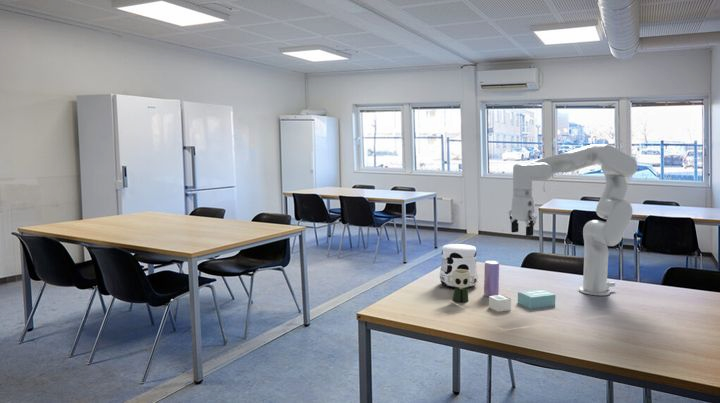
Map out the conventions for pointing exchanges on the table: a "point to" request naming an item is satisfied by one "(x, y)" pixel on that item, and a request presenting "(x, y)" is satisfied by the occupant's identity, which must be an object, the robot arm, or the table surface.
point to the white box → (499, 303)
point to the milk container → (458, 262)
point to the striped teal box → (536, 298)
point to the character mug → (460, 284)
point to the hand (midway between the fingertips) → (522, 233)
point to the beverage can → (491, 278)
